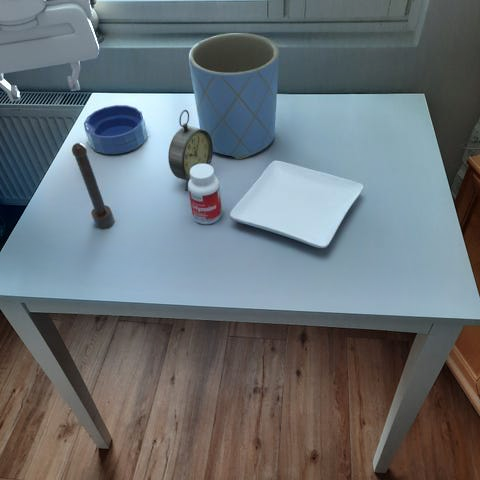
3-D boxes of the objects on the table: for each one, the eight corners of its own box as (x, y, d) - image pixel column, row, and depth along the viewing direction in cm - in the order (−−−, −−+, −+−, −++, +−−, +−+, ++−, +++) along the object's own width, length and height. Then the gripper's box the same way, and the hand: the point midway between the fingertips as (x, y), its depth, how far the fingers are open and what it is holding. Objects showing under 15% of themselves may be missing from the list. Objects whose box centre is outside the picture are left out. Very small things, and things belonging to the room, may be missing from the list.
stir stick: (96, 231, 97) (66, 152, 82) (94, 218, 99) (65, 140, 85) (115, 226, 97) (89, 148, 83) (113, 214, 100) (87, 136, 85)
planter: (183, 142, 115) (169, 56, 99) (235, 109, 123) (231, 25, 107) (240, 172, 107) (236, 83, 91) (293, 134, 115) (297, 47, 99)
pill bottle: (190, 225, 97) (183, 180, 88) (194, 205, 100) (188, 160, 92) (220, 225, 96) (215, 180, 87) (223, 206, 100) (219, 161, 91)
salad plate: (273, 170, 107) (273, 157, 104) (363, 196, 100) (365, 182, 97) (227, 227, 96) (226, 214, 93) (325, 260, 89) (326, 247, 86)
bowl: (93, 161, 112) (86, 142, 108) (87, 130, 120) (81, 111, 116) (152, 149, 114) (147, 130, 110) (142, 119, 122) (138, 100, 118)
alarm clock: (189, 196, 102) (178, 127, 89) (169, 189, 104) (155, 120, 91) (216, 169, 108) (210, 100, 95) (197, 163, 110) (188, 94, 97)
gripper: (83, -23, 68) (107, 74, 79) (-65, -3, 65) (-18, 95, 76) (87, -8, 65) (112, 92, 76) (-70, 15, 62) (-20, 115, 73)
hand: (45, 94), depth 76 cm, fingers open, 8 cm apart
